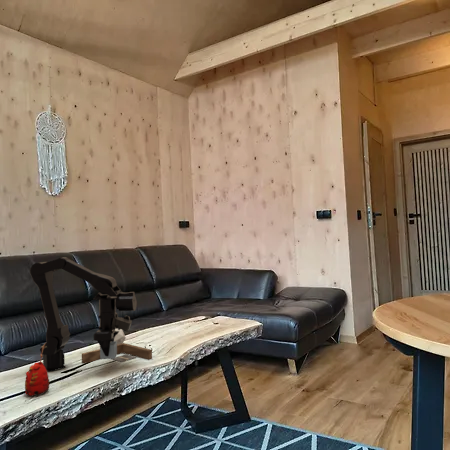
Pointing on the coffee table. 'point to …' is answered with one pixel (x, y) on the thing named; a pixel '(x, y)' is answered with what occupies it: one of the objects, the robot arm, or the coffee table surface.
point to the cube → (110, 351)
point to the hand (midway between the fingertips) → (108, 354)
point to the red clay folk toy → (37, 379)
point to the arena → (120, 349)
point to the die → (120, 336)
